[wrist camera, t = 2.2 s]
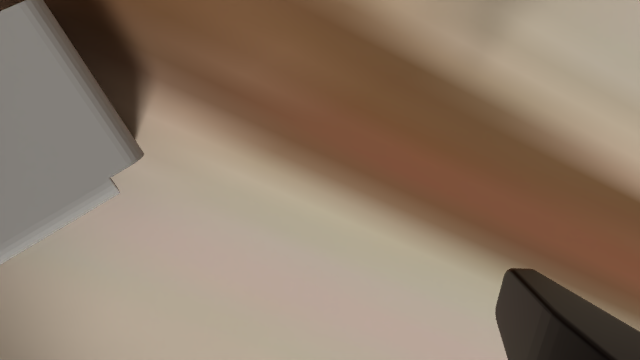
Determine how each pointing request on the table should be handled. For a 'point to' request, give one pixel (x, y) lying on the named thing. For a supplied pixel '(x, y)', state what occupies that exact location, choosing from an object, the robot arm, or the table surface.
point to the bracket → (51, 131)
